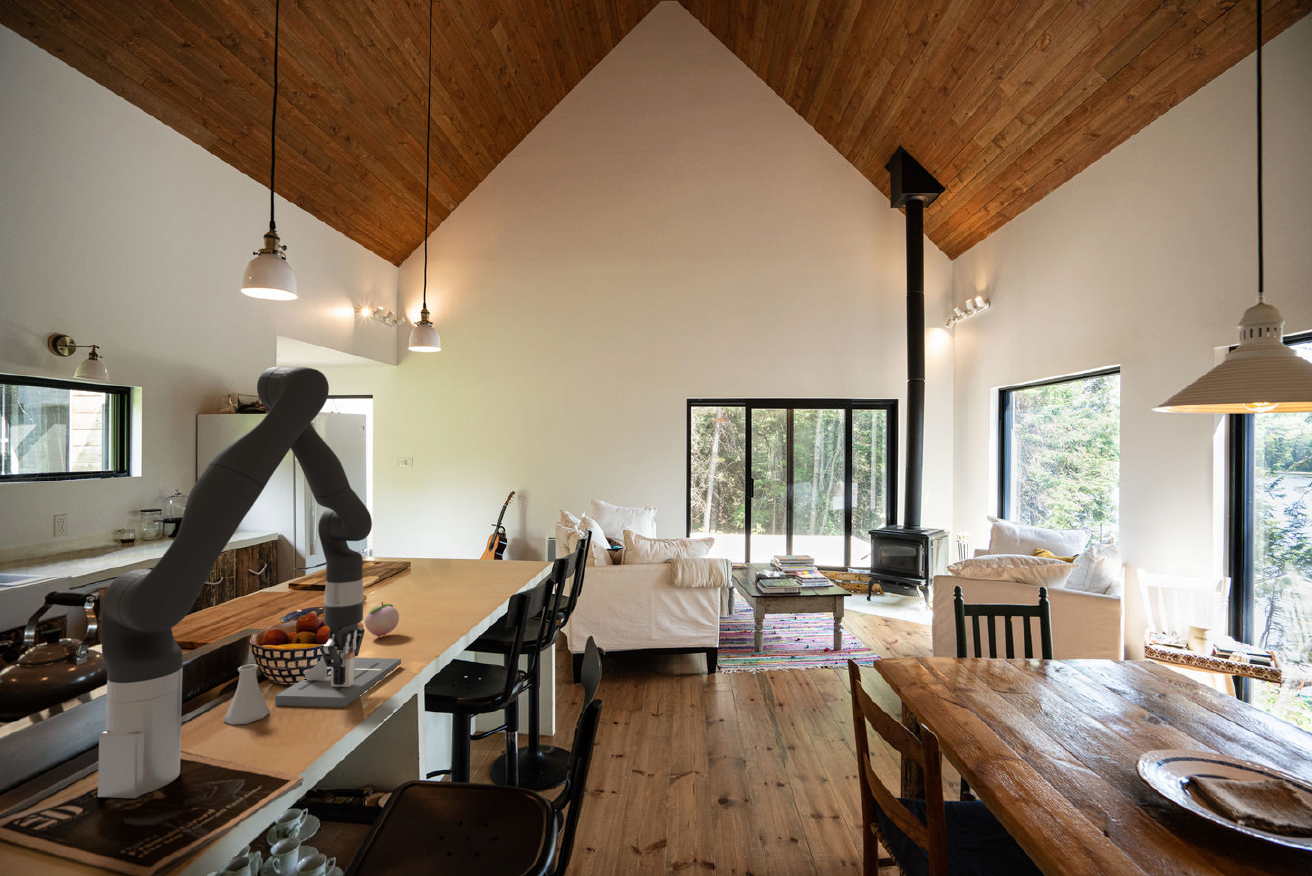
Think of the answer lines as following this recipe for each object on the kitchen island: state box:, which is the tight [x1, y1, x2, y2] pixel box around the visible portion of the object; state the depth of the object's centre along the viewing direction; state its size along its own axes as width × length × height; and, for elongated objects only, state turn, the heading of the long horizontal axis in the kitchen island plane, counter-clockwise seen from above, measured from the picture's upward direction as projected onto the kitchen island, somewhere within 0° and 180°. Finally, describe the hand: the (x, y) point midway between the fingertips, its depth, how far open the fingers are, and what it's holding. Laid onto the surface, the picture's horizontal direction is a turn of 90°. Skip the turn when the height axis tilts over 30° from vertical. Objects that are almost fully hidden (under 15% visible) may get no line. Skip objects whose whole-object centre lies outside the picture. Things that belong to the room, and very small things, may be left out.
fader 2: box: [331, 652, 356, 687], centre depth 132 cm, size 2×4×7 cm, turn 87°
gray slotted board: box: [274, 657, 402, 708], centre depth 139 cm, size 24×15×2 cm, turn 176°
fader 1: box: [304, 656, 327, 680], centre depth 136 cm, size 2×4×7 cm, turn 87°
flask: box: [223, 663, 271, 725], centre depth 121 cm, size 7×7×10 cm
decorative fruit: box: [364, 601, 400, 637], centre depth 174 cm, size 9×8×10 cm
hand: (342, 681), depth 132 cm, fingers closed on fader 2, 2 cm apart
